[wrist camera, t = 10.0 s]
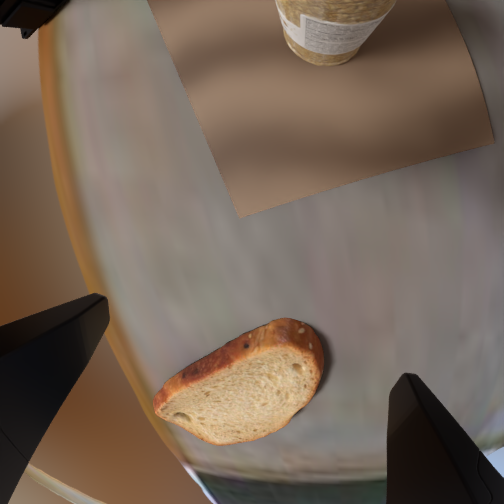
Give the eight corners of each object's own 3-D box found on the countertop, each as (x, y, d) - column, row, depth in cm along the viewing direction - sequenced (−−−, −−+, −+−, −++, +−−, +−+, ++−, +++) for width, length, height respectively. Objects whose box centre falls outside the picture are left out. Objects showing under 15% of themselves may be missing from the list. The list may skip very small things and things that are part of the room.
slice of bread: (326, 315, 23) (328, 347, 20) (316, 436, 30) (314, 462, 27) (123, 307, 26) (102, 331, 23) (170, 421, 34) (161, 444, 30)
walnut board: (147, -10, 14) (141, -14, 14) (384, -80, 9) (387, -87, 8) (242, 213, 20) (239, 218, 20) (487, 141, 15) (494, 143, 14)
